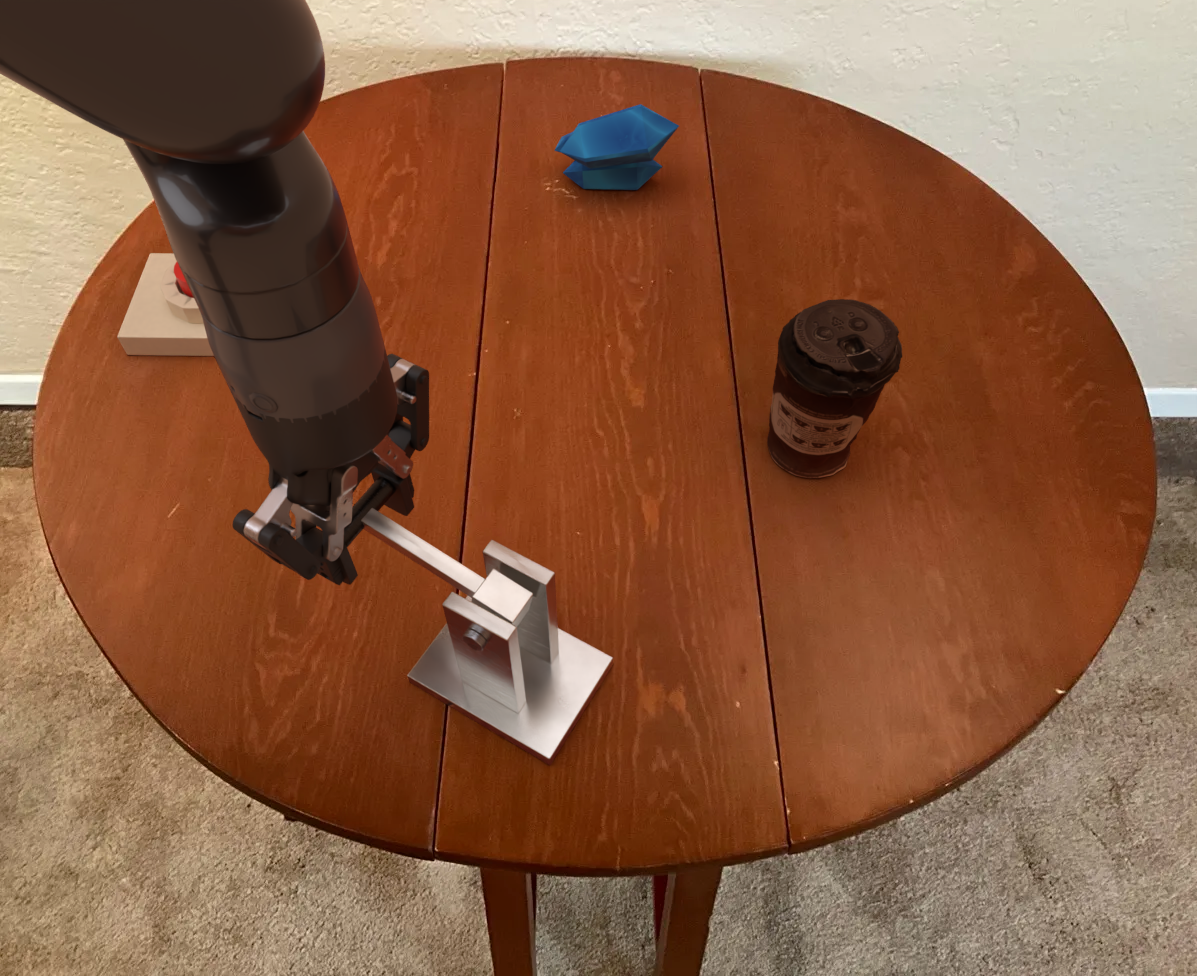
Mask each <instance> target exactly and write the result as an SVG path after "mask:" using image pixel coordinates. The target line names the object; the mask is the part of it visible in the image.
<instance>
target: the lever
mask: <svg viewBox="0 0 1197 976" xmlns="http://www.w3.org/2000/svg"><path fill="white" fill-rule="evenodd" d="M394 492H395V488H394V486H393V485H392V484H391V483H390V482H389V481H388V480H386V479H385V478H382V477H379V478H377V480H376V481H375V482H374V481H373V483H372V484H371V485H370V486H369V487H368V489H367V490H366V491H365V492H364V493H363V494H362V495H361V497H359V499H358V500H357V501H356V502H355V503H354V505H352V521H351V523H350V524H349V525H347V526H346V527H345V528H344V543H343V545H345V546H346V547H347V548H349V546H350V545H351V544H352V543H353V542H354V540H355V539H356V538H357V537H358V536H359V535H360V534H361V532H362V531H363V530H364V531H366V532H367V533H369V534H370V535H372V536H373V537H375V538H376V539H378V540H380V541H381V542H383V543H384V544H386V545H387V546H389V547H390V548H393V549H394V550H395V551H397V552H398V553H400V554H402V555H403V556H404V557H406V558H408V559H409V560H411V561H413V562H414V563H416V564H417V565H419V566H420V567H422V568H424V569H426V570H427V571H428V572H430V573H431V574H433V575H435V576H436V577H438V578H439V579H441V580H443V581H444V582H446V583H448V584H449V585H450V586H452V587H454V588H455V589H456V590H458V591H460V592H461V593H462V594H465V595H466V596H467V595H468V596H469V597H471V598H472V603H474V604H476V605H478V606H480V607H482V608H483V609H485V610H487V611H489V612H491V613H492V614H494V615H496V616H498V617H500V618H502V619H503V620H505V621H507V622H509V623H511V624H513V625H514V626H516V627H517V626H518V625H519V623H520V622H521V620H522V619H523V618H524V616H525V615H526V613H527V612H528V611H529V608H530V605H531V601H532V597H533V593H532V592H530V591H529V590H527V589H526V588H524V587H522V586H521V585H519V584H518V583H516V582H514V581H513V580H511V579H510V578H508V577H506V576H505V575H503V574H502V573H500V572H499V571H497V570H495V569H492V570H491V572H490V573H489V574H488V576H486V577H483V576H482V575H480V574H478V573H477V572H475V571H474V570H472V569H470V568H469V567H468V566H465V565H464V564H462V563H461V562H459V561H458V560H457V559H455V558H453V557H451V556H450V555H448V554H446V553H445V552H444V551H442V550H440V549H439V548H437V547H435V546H434V545H432V544H431V543H429V542H427V541H426V540H424V539H423V538H421V537H420V536H418V535H417V534H415V533H413V532H412V531H410V530H409V529H407V528H405V527H404V526H402V525H401V524H399V523H397V522H396V521H394V520H392V519H391V518H390V517H388V516H387V515H385V514H383V513H381V512H380V510H381V509H382V507H384V506H385V505H384V504H385V503H386V502H387V501H388V499H389V498H390V497H391V496H392V495H393V494H394Z"/></svg>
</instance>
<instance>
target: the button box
mask: <svg viewBox="0 0 1197 976" xmlns="http://www.w3.org/2000/svg"><path fill="white" fill-rule="evenodd" d="M176 262H177V260H176V258H175V256H174V253H173V252H172V253H171V252H170V253H169V252H168V253H165V252H164V253H163V252H162V253H161V252H150V253H149V255H148V258H147V260H146V262H145V264H144V267H143V270H142V273H141V275H140V278H139V280H138V283H137V286H136V288H135V290H134V293H133V295H132V297H131V299H130V300H131V301H130V303H129V305H128V308H127V310H126V313H125V315H124V318H123V321H122V323H121V326H120V329H119V330H118V333H117V340H118V341H119V343H120V345H121V346H122V348H123V351H124V352H125V354H126V355H127V356H175V357H177V356H178V357H179V356H180V357H181V356H183V357H186V356H187V357H214V354H213V352H212V350H211V347H210V345H209V342H208V338H207V335H206V331H205V327H204V323H203V319H202V316H201V313H200V311H199V308H198V306H197V304H196V301H195V299H194V298H192V297H189V296H187V295H186V294H185V293H184V292H183V291H182V289H181V287H180V285H179V283H178V281H177V279H176V276H175V274H174V266H175V264H176Z"/></svg>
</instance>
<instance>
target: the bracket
mask: <svg viewBox="0 0 1197 976" xmlns="http://www.w3.org/2000/svg"><path fill="white" fill-rule="evenodd" d="M482 558H483V563H484V569H485V576H486V577H487V576H488V574H489V573H490V572H491V570H492V569H495V570H497V571H499V572H500V573H502V574H503V575H505V576H506V577H508V578H510V579H511V580H513V581H514V582H516V583H518V584H519V585H521V586H522V587H524V588H526V589H527V590H529V591H530V592H532V593H533V597H532V601H531V605H530V608H529V611H528V612H527V613H526V615H525V616H524V618H523V619H522V620H521V622H520V623H519V625H518V626H517V627H516V626H514V625H513V624H511V623H509V622H507V621H505V620H503V619H502V618H500V617H498V616H496V615H494V614H492V613H491V612H489V611H487V610H485V609H483V608H482V607H480V606H478V605H476V604H474V603H472V598H471V597H469V596H468V595H466V596H465V597H463V596H461V595H459V594H458V593H456V592H454V591H451V592H450V593H449V594H448V596H447V597H446V598H445V600H444V601H443V602H442V603H441V607H442V609H443V613H444V618H445V620H446V622H445V624H444V625H443V627H442V628H441V629H440V631H439V632H438V634H437V635H436V636H435V637H434V639H433V640H432V642H431V643H430V644H429V645H428V647H427V648H426V650H425V651H424V652H423V653H422V654H421V656H420V658H419V659H418V660H417V661H416V663H415V664H414V665H413V667H412V668H411V669H410V670H409V671H408V673H407V675H406V677H407V679H408V682H409V684H411V685H412V686H414V687H416V688H418V689H419V690H421V691H423V692H425V693H426V694H427V695H430V696H431V697H433V698H434V699H436V700H438V701H440V703H441V702H442V703H443V704H445V705H447V706H448V707H450V708H452V709H453V710H455V711H457V712H458V713H461V714H462V715H463V716H465V717H467V718H469V719H470V720H472V721H473V722H476V723H477V724H479V725H480V726H482V727H484V728H486V729H487V730H489V731H491V732H493V733H494V734H496V735H497V736H499V737H501V738H502V739H504V740H505V741H507V742H509V743H511V744H513V745H515V746H516V747H518V748H520V749H521V750H523V751H525V752H526V753H528V754H530V755H531V756H533V757H534V758H536V759H538V760H540V761H542V762H543V763H544V764H546V765H549V766H551V765H552V764H553V762H554V760H555V759H556V757H557V756H558V755H559V753H560V751H561V750H562V748H563V746H564V745H565V743H566V742H567V740H568V738H569V737H570V735H571V734H572V732H573V730H574V728H575V727H576V725H577V723H578V722H579V720H580V719H581V717H582V715H583V714H584V713H585V711H586V710H587V708H588V706H589V705H590V703H591V702H592V700H593V698H594V697H595V695H596V693H597V692H598V690H599V688H600V687H601V685H602V684H603V682H604V680H605V679H606V677H607V676H608V674H609V672H610V671H611V669H612V668H613V666H614V657H613V656H611V655H609V654H608V653H606V652H604V651H602V650H600V649H598V648H596V647H595V646H593V645H591V644H589V643H588V642H586V641H583V640H582V639H580V638H578V637H576V636H575V635H573V634H571V633H569V632H567V631H565V630H563V629H561V628H560V627H558V625H559V623H558V608H557V607H558V605H557V603H558V602H557V586H556V585H557V584H556V572H555V571H553V570H551V569H550V568H547V567H545V566H544V565H542V564H539V563H538V562H536V561H534V560H532V559H530V558H528V557H526V556H525V555H523V554H521V553H518V551H515V550H513V549H511V548H509V547H508V546H505V545H503V544H502V543H500V542H498V541H496V540H494V539H491V540H489V542H488V543H487V545H486V546H485V548H484V549H483V550H482Z"/></svg>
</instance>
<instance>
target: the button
mask: <svg viewBox="0 0 1197 976" xmlns="http://www.w3.org/2000/svg"><path fill="white" fill-rule="evenodd" d="M174 274H175V276H176V279H177V281H178V283H179V285H180V287H181V289H182V291H183V292H184V293H185V294H186V295H187V296H189V297H192V298H194V297H193V295H192V293H191V291H190V288H189V286H188V284H187V282H186V280H185V278H184V275H183V273H182V271H181V269H180V267H179V264H178V262H176V264H175V266H174Z"/></svg>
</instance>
